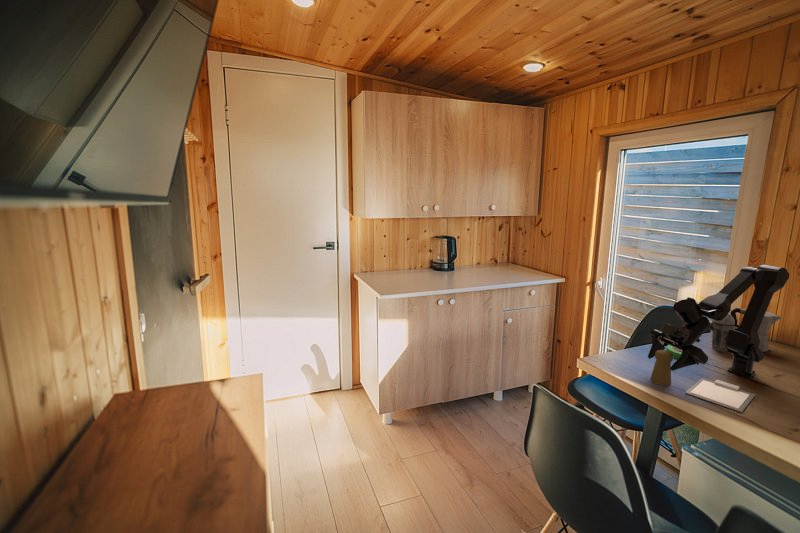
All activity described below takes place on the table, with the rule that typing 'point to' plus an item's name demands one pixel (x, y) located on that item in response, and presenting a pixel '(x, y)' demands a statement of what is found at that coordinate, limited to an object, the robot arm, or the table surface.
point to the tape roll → (674, 351)
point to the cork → (662, 368)
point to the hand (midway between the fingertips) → (659, 363)
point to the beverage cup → (721, 332)
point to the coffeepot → (763, 328)
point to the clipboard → (721, 394)
